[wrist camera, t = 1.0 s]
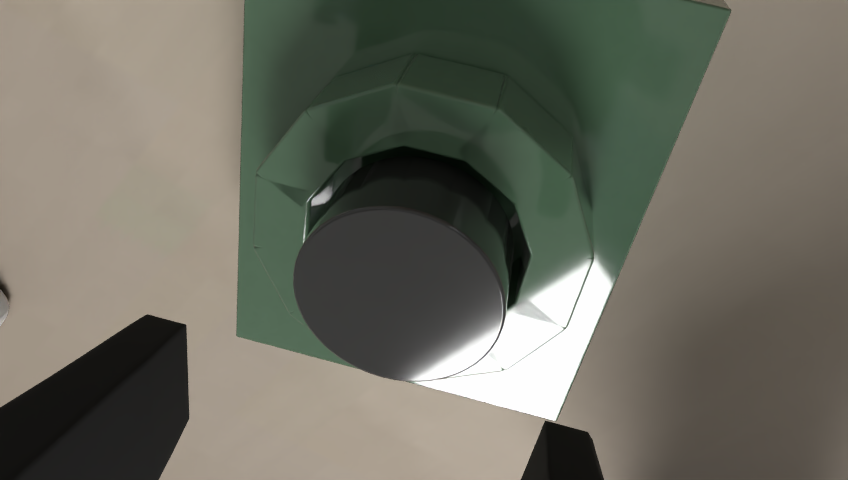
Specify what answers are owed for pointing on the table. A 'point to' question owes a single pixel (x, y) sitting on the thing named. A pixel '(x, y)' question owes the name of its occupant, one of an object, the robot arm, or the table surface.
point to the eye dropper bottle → (3, 307)
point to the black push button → (407, 270)
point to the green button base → (470, 149)
